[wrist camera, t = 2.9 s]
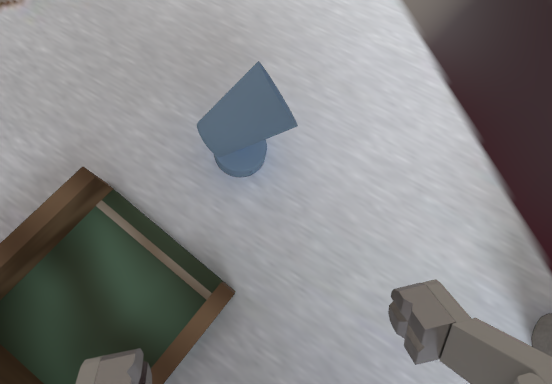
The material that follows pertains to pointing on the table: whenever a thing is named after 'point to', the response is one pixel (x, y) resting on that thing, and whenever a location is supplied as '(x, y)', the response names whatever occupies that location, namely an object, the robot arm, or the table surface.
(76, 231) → the wooden display tray
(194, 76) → the table surface
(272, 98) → the spotlight
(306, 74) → the table surface
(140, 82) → the table surface
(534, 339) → the house plant
